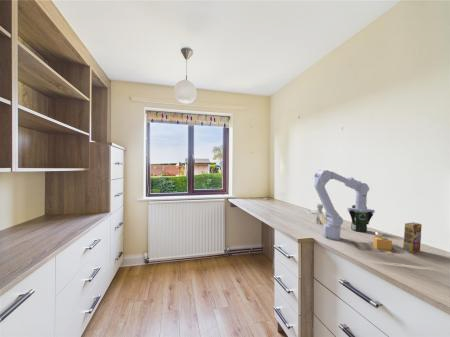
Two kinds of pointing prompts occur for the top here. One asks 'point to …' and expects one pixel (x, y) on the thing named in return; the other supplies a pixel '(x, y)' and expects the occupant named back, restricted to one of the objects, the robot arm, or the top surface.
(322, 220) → the hammer
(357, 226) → the coffee jar
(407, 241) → the candy box
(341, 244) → the top surface
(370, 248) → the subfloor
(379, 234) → the stepped metal cylinder
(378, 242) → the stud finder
